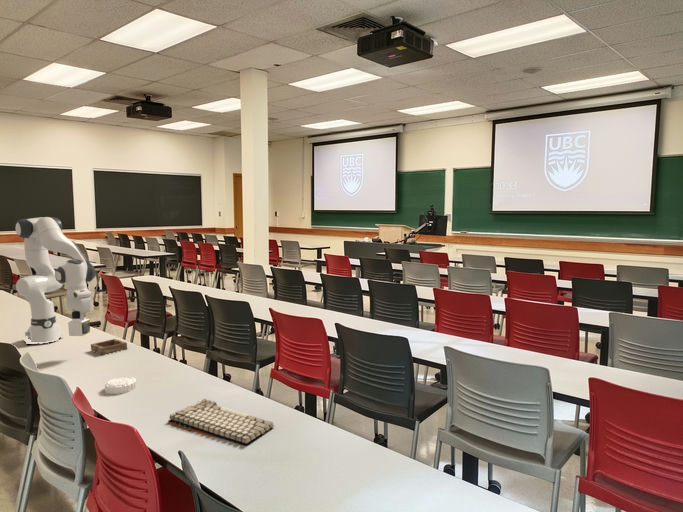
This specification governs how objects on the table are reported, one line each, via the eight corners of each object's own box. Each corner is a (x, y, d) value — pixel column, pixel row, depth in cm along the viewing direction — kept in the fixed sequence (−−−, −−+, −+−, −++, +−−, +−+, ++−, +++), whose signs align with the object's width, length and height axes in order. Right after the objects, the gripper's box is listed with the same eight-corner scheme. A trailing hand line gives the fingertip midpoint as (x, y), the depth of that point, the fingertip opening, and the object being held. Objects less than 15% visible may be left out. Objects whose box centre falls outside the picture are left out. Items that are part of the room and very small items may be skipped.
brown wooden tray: (91, 350, 252) (90, 344, 252) (115, 345, 262) (114, 338, 262) (102, 355, 244) (102, 348, 244) (127, 349, 254) (126, 342, 254)
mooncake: (102, 388, 200) (101, 380, 200) (131, 381, 208) (131, 373, 207) (109, 397, 191) (108, 388, 191) (140, 389, 199) (139, 381, 198)
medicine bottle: (82, 336, 237) (81, 312, 236) (68, 336, 238) (67, 312, 236) (90, 332, 244) (89, 309, 243) (76, 332, 245) (75, 309, 243)
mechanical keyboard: (281, 425, 165) (280, 416, 165) (245, 450, 149) (244, 440, 148) (202, 404, 184) (202, 396, 183) (162, 425, 167) (162, 416, 167)
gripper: (61, 290, 242) (63, 316, 244) (79, 295, 230) (81, 323, 231) (74, 288, 247) (76, 314, 249) (92, 293, 235) (94, 320, 236)
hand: (78, 318), depth 240 cm, fingers closed on medicine bottle, 6 cm apart
